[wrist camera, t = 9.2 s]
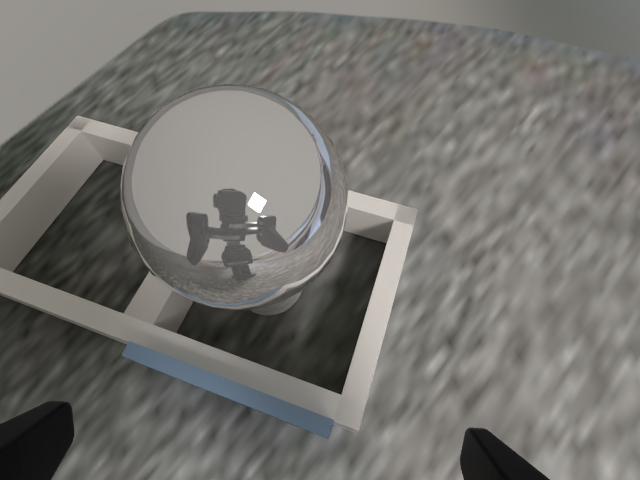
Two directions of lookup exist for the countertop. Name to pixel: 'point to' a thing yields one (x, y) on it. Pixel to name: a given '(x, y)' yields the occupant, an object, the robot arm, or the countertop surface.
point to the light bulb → (234, 198)
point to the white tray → (170, 308)
